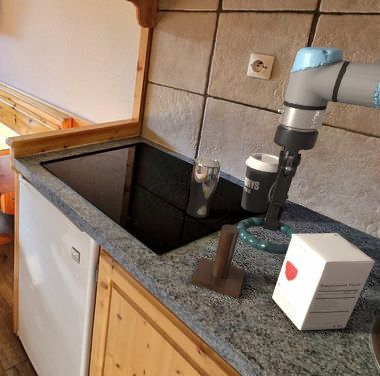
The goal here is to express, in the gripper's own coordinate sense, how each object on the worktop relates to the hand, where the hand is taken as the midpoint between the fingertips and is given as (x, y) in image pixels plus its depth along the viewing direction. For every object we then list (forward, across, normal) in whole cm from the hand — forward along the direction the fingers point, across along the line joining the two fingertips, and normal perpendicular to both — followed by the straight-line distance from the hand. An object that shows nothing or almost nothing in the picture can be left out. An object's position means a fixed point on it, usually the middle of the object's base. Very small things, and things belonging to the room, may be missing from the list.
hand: (270, 226), depth 93 cm
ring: (-1, +5, 0) cm, 5 cm away
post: (+6, +17, -7) cm, 20 cm away
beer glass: (+6, -11, -17) cm, 21 cm away
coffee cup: (+6, -23, -4) cm, 24 cm away
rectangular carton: (+7, +19, +9) cm, 22 cm away
